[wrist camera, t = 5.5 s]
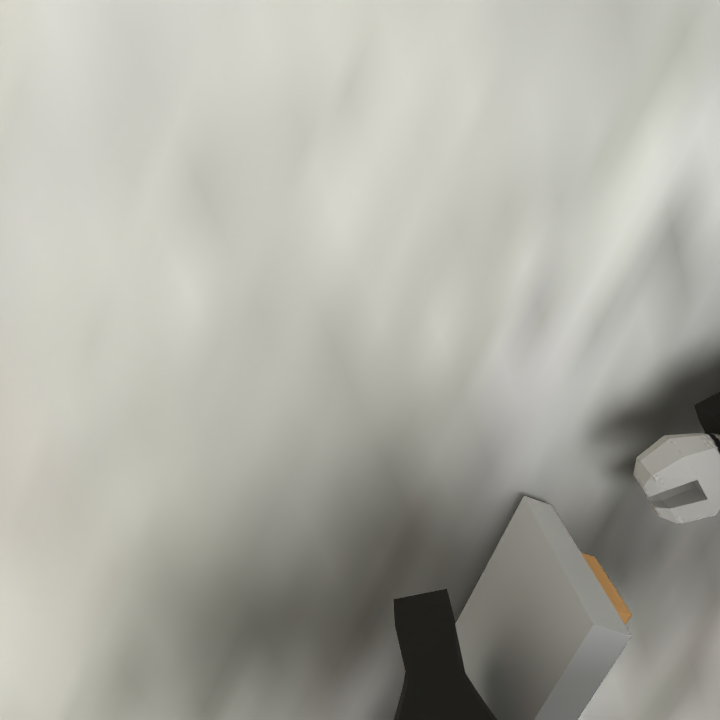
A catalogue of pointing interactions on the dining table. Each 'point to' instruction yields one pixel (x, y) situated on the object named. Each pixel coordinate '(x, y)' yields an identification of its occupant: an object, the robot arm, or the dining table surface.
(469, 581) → the dining table surface
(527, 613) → the door
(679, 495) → the robot toy
